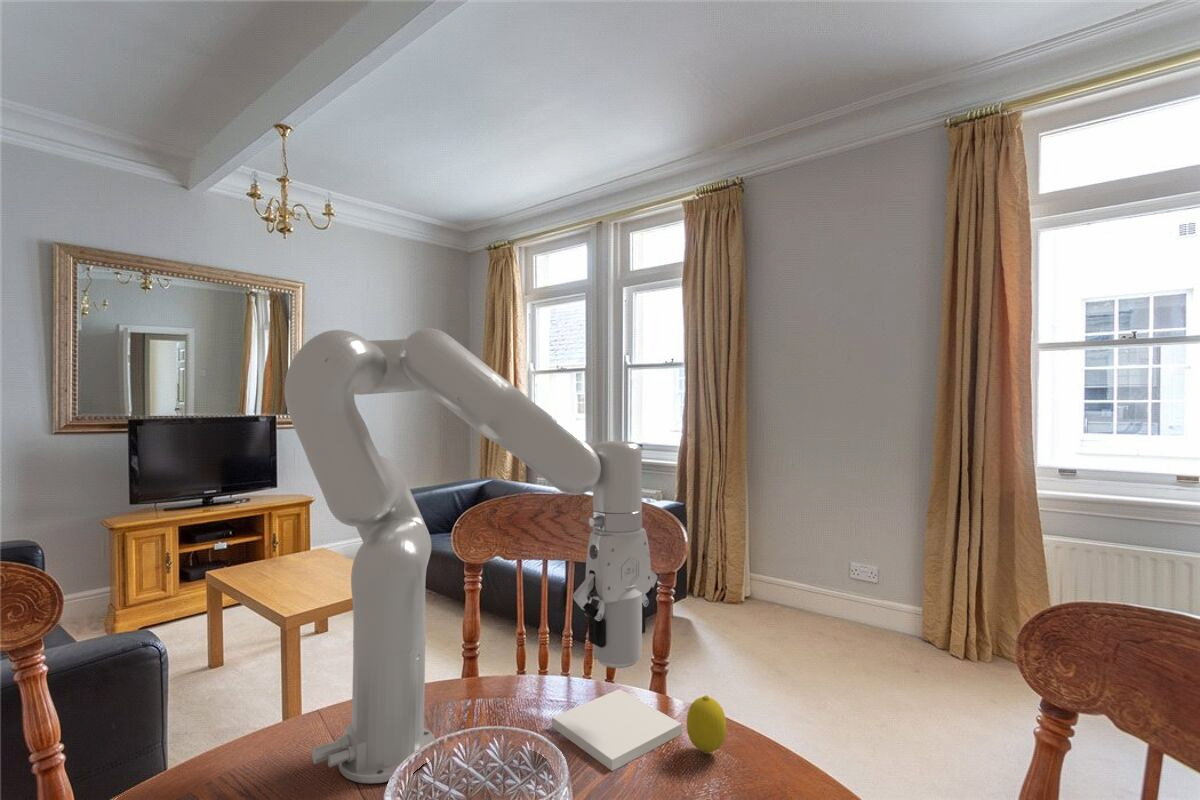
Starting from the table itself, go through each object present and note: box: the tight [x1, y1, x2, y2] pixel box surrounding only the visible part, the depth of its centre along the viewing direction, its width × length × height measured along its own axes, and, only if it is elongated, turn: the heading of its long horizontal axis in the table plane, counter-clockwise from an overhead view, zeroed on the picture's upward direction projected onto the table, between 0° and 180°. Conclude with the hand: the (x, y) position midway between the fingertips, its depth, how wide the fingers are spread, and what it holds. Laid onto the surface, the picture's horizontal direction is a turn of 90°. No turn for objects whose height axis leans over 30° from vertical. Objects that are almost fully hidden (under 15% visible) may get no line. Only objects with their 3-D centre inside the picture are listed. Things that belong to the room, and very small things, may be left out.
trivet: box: [551, 688, 683, 772], centre depth 85 cm, size 14×14×2 cm
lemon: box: [686, 695, 727, 755], centre depth 80 cm, size 6×6×8 cm
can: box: [592, 585, 643, 669], centre depth 86 cm, size 8×8×12 cm
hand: (617, 636), depth 86 cm, fingers closed on can, 7 cm apart
